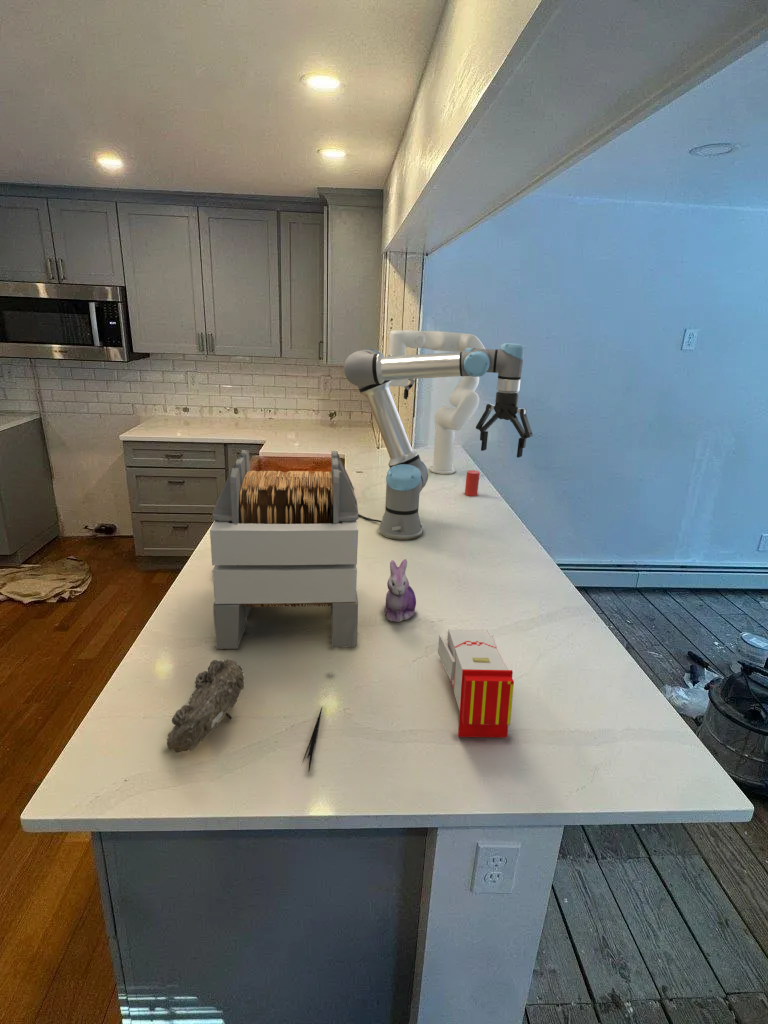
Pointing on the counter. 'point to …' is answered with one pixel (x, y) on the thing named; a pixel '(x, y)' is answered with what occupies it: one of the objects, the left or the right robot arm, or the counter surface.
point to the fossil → (206, 705)
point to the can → (472, 483)
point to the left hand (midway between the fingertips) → (501, 453)
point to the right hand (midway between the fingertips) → (395, 398)
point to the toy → (478, 682)
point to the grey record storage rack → (285, 547)
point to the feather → (313, 740)
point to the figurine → (399, 594)
